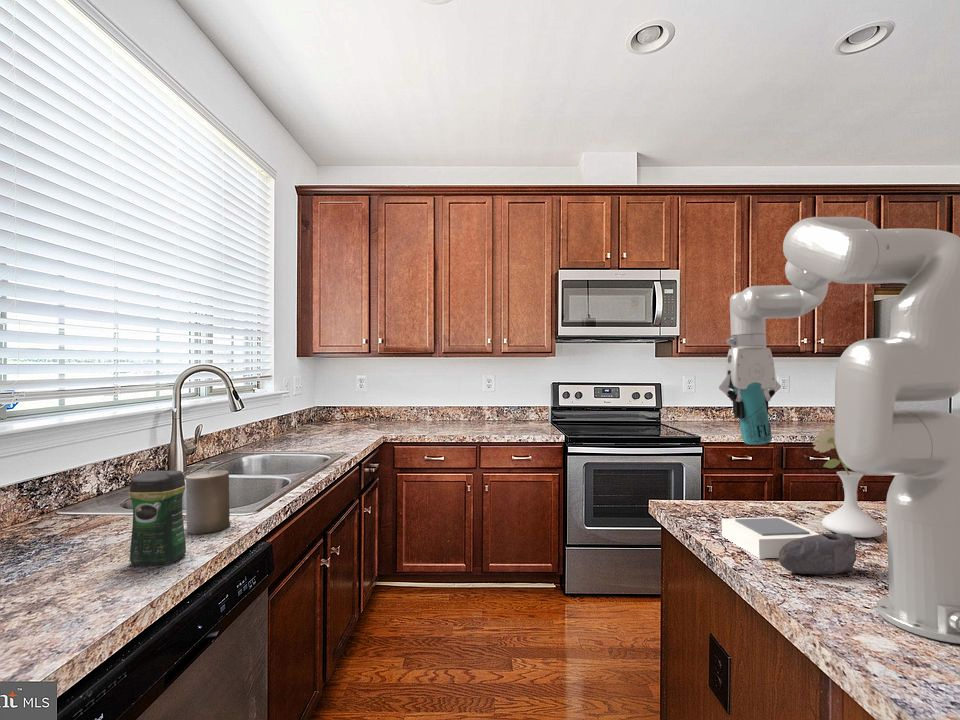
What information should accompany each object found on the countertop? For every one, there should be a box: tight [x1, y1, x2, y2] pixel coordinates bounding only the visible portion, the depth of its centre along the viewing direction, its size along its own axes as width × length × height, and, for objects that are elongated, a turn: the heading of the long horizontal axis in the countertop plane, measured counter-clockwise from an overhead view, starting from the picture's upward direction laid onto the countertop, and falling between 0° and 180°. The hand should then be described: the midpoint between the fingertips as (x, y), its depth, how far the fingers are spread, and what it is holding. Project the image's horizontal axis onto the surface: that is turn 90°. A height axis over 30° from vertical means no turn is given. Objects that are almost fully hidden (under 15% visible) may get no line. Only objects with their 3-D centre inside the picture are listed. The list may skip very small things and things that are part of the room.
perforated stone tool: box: [778, 533, 857, 575], centre depth 93 cm, size 15×5×7 cm, turn 91°
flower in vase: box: [812, 424, 884, 539], centre depth 114 cm, size 13×11×25 cm
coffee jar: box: [129, 470, 187, 566], centre depth 105 cm, size 10×8×19 cm
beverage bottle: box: [734, 382, 773, 445], centre depth 121 cm, size 6×7×20 cm
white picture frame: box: [721, 516, 820, 560], centre depth 107 cm, size 14×14×4 cm
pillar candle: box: [185, 468, 231, 535], centre depth 126 cm, size 10×10×15 cm
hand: (750, 417), depth 121 cm, fingers closed on beverage bottle, 5 cm apart
